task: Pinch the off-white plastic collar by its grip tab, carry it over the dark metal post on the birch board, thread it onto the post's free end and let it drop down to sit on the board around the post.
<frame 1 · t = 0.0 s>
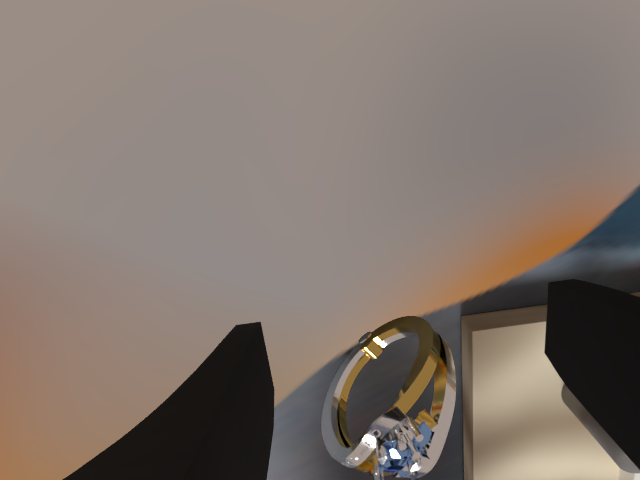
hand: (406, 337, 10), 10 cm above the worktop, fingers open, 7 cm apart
board: (598, 409, 24), on the worktop
ring: (368, 337, 22), on the worktop
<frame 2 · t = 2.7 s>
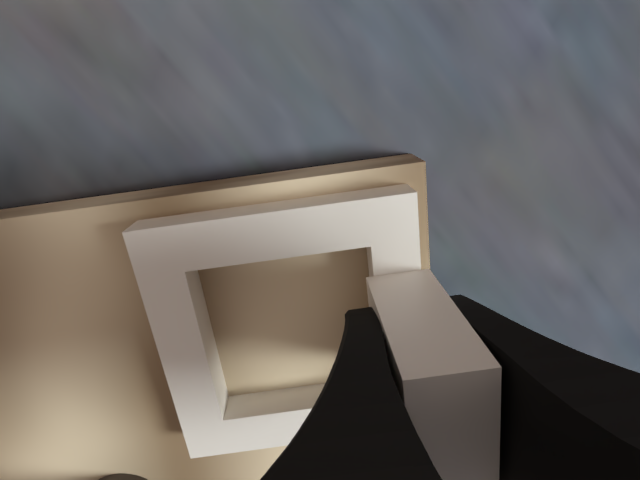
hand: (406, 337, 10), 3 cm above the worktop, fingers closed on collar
board: (211, 410, 15), on the worktop
collar: (292, 320, 12), point 1 cm above the worktop, touching board, gripper
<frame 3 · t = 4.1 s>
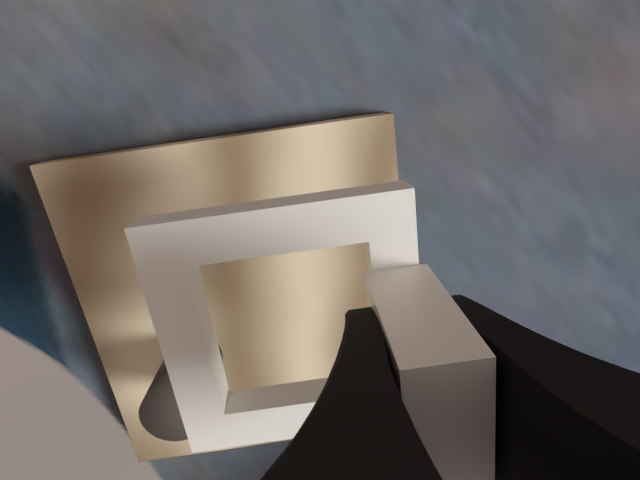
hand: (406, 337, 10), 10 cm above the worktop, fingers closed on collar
board: (252, 296, 21), on the worktop
collar: (292, 315, 12), point 8 cm above the worktop, touching gripper
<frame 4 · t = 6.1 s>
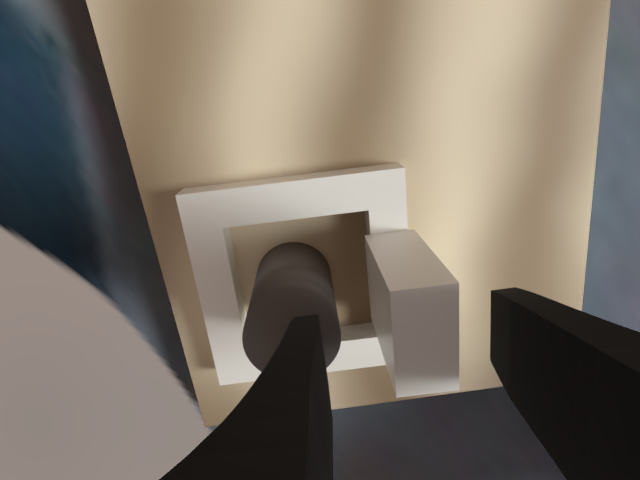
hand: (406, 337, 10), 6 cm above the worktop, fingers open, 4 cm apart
board: (366, 200, 15), on the worktop
collar: (304, 273, 15), point 1 cm above the worktop, touching board
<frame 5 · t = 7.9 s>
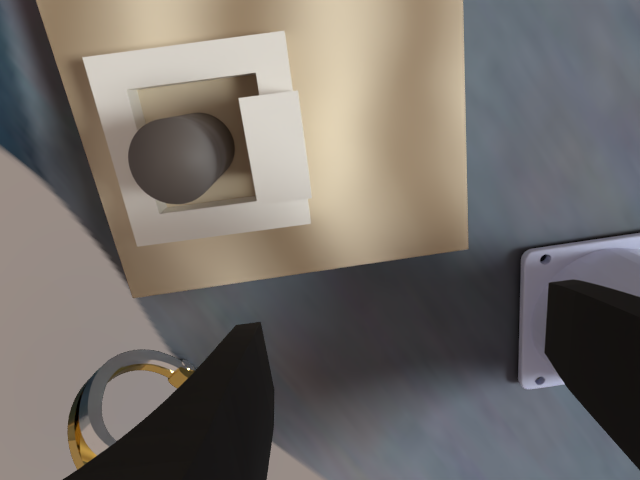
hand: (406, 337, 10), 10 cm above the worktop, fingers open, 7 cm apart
board: (270, 83, 17), on the worktop
collar: (210, 143, 16), point 1 cm above the worktop, touching board
ring: (185, 365, 22), on the worktop
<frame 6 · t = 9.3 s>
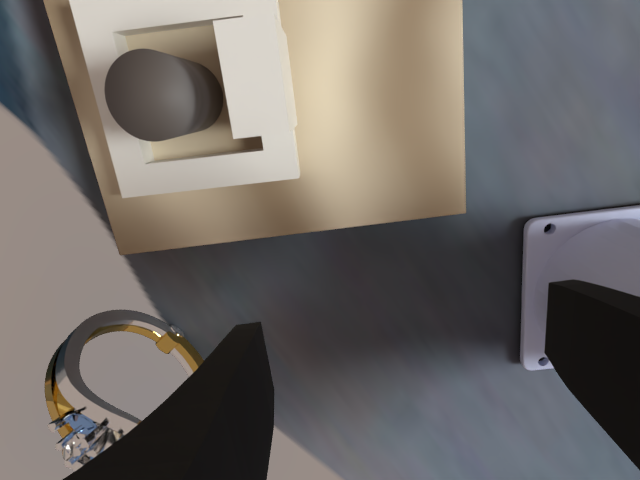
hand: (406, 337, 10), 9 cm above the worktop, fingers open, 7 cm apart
board: (262, 35, 17), on the worktop
collar: (198, 94, 16), point 1 cm above the worktop, touching board
ring: (175, 331, 21), on the worktop
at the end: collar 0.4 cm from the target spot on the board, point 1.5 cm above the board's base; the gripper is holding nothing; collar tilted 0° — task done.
